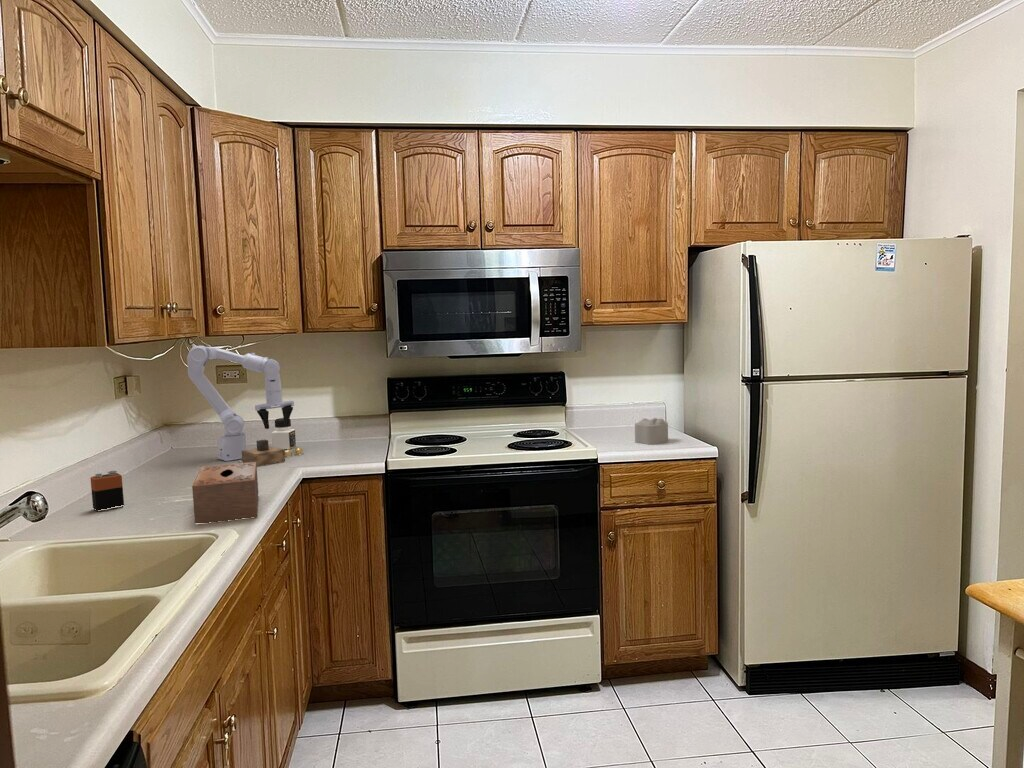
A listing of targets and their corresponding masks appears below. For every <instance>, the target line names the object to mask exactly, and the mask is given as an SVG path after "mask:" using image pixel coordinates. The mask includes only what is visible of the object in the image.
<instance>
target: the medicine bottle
mask: <svg viewBox="0 0 1024 768" xmlns="http://www.w3.org/2000/svg"><path fill="white" fill-rule="evenodd" d="M274 429H275V430H273V431H272V432H271V446H272V447H276V448H280V449H290V450H292V449H294V448H296V446H297V444H296V429H295V428H292V421H291V419H290V418H289V424H288V426H284V418H283V417H280V418H276V419H274ZM291 448H292V449H291Z"/></svg>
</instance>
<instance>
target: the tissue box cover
mask: <svg viewBox="0 0 1024 768" xmlns="http://www.w3.org/2000/svg"><path fill="white" fill-rule="evenodd" d="M191 490H192V501H193V514H194V515H193V516H194V524H195V523H208V524H210V523H209V522H216V523H219V522H218V521H225V522H229V521H228V520H234V521H236V520H235V519H242V518H251V517H257V518H258V514H257V513H258V510H259V496H258V494H259V481H258V466H257V465H256V462H248V463H242V462H240V463H228V464H218V465H207V466H206V465H205V466H201V467H200V470H199V471H198V473H197V476H196V477H195V480H194V482H193V483H192V485H191ZM251 519H252V518H251ZM242 520H243V519H242Z"/></svg>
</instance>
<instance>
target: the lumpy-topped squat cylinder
mask: <svg viewBox="0 0 1024 768" xmlns="http://www.w3.org/2000/svg"><path fill="white" fill-rule="evenodd" d="M668 442H669V422H668V421H665V420H664V419H663V418H656V417H653V418H651V419H648V418H642V419H641V420H639V421H638V422H635V423H634V443H635V444H642V445H646V446H647V445H648V446H654V445H662V444H665V443H666V444H667V443H668Z"/></svg>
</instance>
